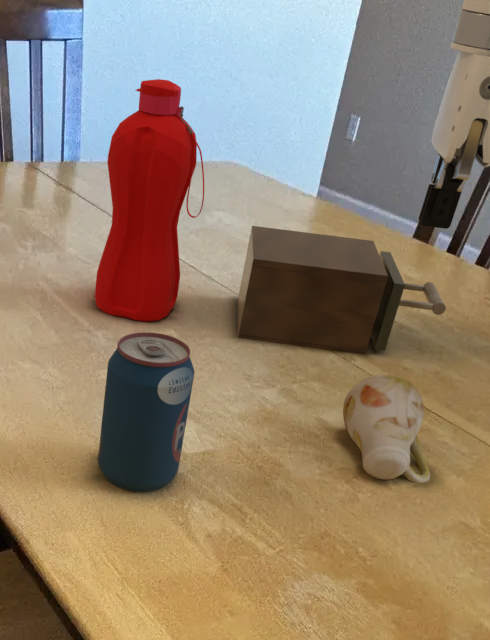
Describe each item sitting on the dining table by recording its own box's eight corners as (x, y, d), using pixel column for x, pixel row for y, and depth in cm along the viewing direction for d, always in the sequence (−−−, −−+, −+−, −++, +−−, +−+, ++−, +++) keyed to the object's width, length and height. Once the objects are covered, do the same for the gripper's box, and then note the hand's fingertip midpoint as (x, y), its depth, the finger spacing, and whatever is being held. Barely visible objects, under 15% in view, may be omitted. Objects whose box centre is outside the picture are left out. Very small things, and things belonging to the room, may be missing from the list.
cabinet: (352, 317, 110) (373, 240, 104) (364, 357, 100) (388, 275, 94) (237, 302, 111) (251, 225, 105) (237, 340, 101) (253, 258, 95)
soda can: (188, 494, 74) (212, 363, 67) (110, 502, 72) (126, 368, 65) (159, 452, 79) (178, 327, 72) (86, 458, 77) (98, 330, 70)
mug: (344, 489, 77) (343, 374, 76) (343, 482, 86) (342, 379, 85) (435, 486, 75) (436, 368, 74) (424, 480, 84) (424, 375, 83)
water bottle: (174, 333, 101) (210, 96, 86) (86, 314, 104) (105, 80, 89) (194, 307, 108) (230, 83, 94) (111, 290, 111) (133, 69, 96)
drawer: (418, 320, 109) (438, 258, 104) (435, 357, 99) (458, 291, 95) (264, 300, 110) (277, 237, 105) (267, 335, 101) (281, 268, 96)
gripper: (555, 50, 80) (482, 250, 90) (513, 32, 92) (454, 211, 102) (471, 40, 80) (409, 241, 91) (441, 23, 92) (389, 202, 103)
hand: (433, 224), depth 97 cm, fingers closed
